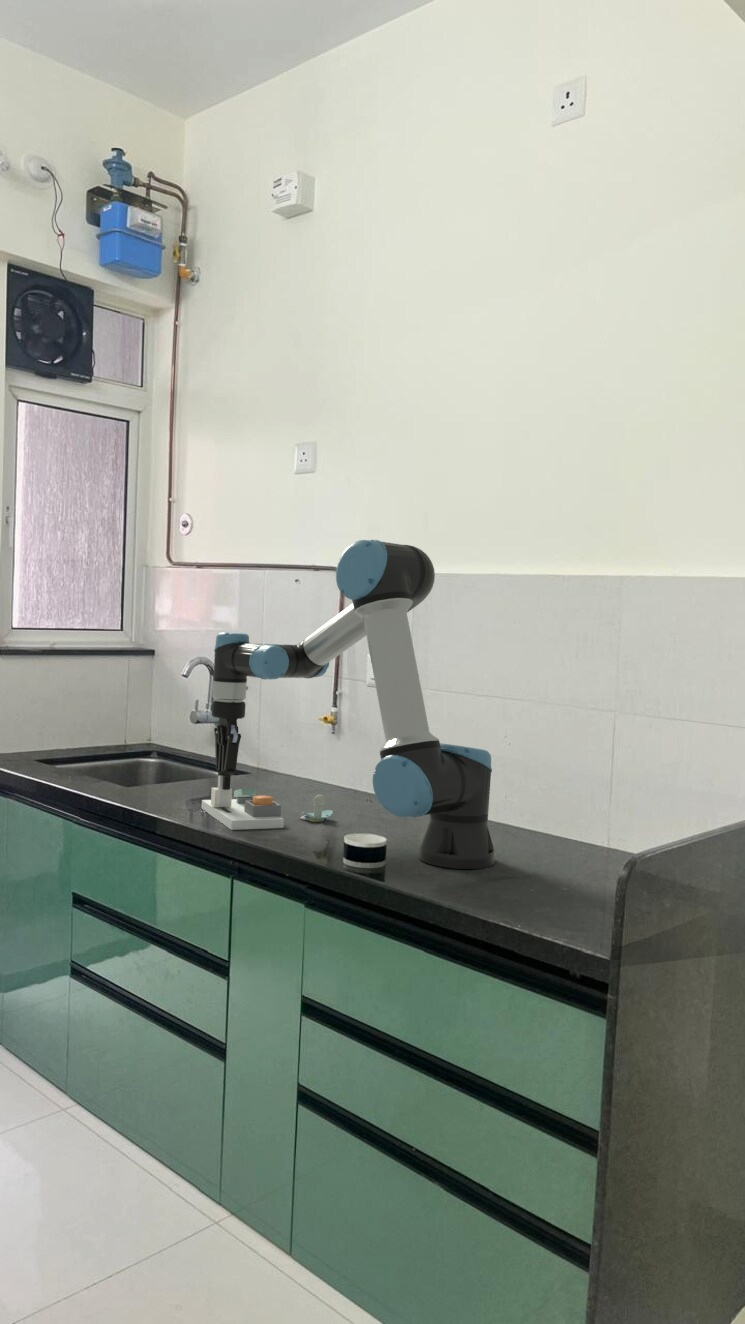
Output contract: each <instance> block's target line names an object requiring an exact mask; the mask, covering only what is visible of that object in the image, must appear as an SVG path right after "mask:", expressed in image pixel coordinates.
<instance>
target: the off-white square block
mask: <svg viewBox="0 0 745 1324" xmlns="http://www.w3.org/2000/svg"><path fill="white" fill-rule="evenodd" d="M210 790H211V793H210V800H211V805H212V806H213V807H231V802H232V799H233V797H232V796H233V789H232V788H231V800H230V804H218V803H217V793H218V787H211V789H210Z"/></svg>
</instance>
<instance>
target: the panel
mask: <svg viewBox="0 0 745 1324" xmlns="http://www.w3.org/2000/svg"><path fill="white" fill-rule="evenodd" d="M253 797H254V796H244V797H236V799H235V798H232V802H231V807H213V806H212V805H211V799H202V800H201V809H202V810H203V811H204V810H205V811H204V812H206V813H208V814H209V815H210V816H212V817H213V818H214V819H215V820H217V821H218V822H220V823H221V824H222V823H223V824H222V825H224V826H225V827H227V828H228V829H230V830H231V831H233V830H234V831H237V830H256V829H257V830H259V829H283V828H285V827H284V822H285V818H283V817H282V813H281V812H282V804H280V803H278V802H276V801H274V800H273V805H254V804H253Z"/></svg>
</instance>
